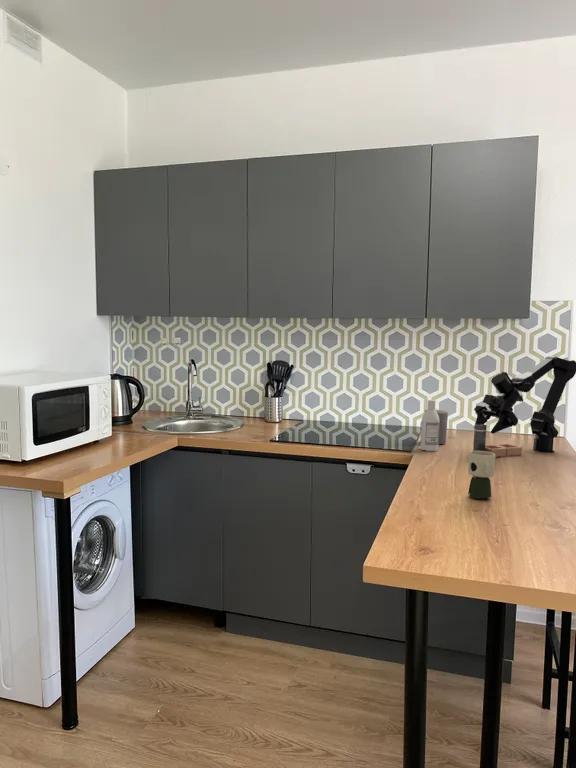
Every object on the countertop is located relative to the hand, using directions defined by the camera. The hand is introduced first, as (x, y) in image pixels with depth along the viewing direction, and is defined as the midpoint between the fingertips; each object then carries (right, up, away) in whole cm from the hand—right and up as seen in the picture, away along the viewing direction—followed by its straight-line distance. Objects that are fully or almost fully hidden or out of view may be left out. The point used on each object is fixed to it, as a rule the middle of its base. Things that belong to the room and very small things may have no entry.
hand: (482, 430), depth 229 cm
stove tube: (-1, -10, 0) cm, 10 cm away
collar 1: (+4, -9, +3) cm, 11 cm away
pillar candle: (-12, -7, +25) cm, 29 cm away
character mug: (-20, -15, -59) cm, 64 cm away
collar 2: (+12, -9, +6) cm, 16 cm away
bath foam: (-19, -8, +9) cm, 22 cm away
